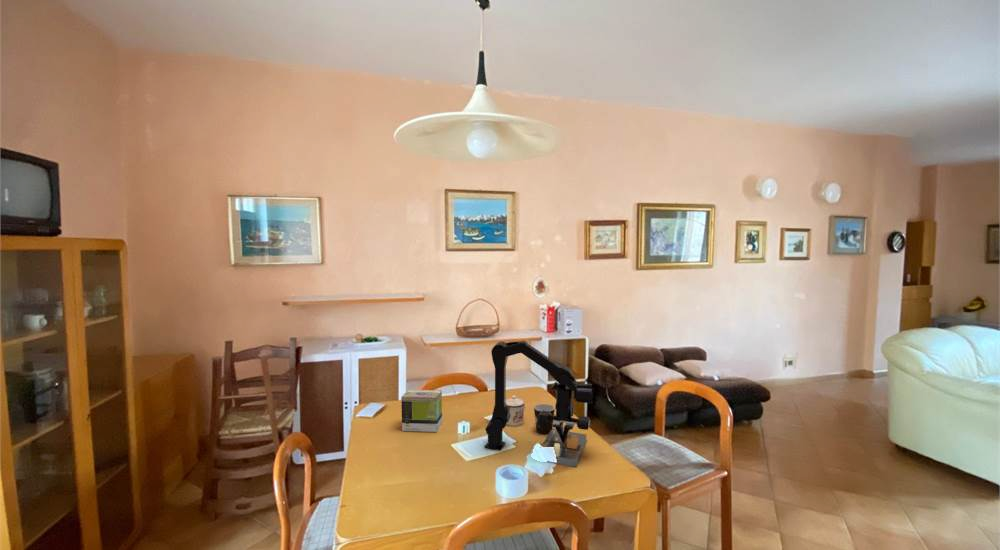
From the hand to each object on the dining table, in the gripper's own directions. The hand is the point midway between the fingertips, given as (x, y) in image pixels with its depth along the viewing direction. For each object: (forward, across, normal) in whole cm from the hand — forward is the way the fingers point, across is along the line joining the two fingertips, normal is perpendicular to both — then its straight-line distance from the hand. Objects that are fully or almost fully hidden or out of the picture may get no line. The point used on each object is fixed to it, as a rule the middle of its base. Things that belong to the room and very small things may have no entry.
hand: (563, 442), depth 154 cm
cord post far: (+1, 0, -8) cm, 9 cm away
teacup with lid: (+4, +26, -20) cm, 33 cm away
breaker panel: (+4, 0, -2) cm, 4 cm away
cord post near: (+1, 0, +8) cm, 9 cm away
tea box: (+4, +60, 0) cm, 61 cm away
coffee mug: (+4, +12, -16) cm, 20 cm away
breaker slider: (+1, -3, 0) cm, 4 cm away
